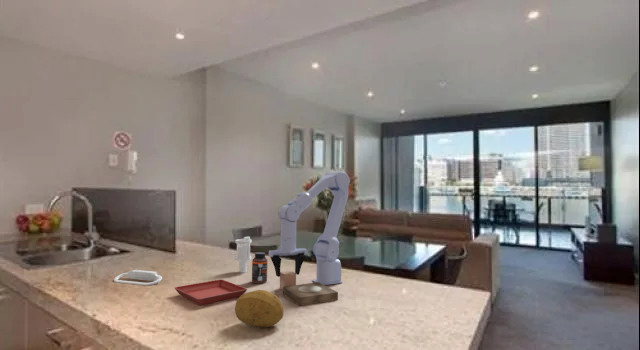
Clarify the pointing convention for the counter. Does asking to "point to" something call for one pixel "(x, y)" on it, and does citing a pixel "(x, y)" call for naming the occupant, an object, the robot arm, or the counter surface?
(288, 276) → the block
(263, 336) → the counter surface
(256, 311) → the potato
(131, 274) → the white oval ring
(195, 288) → the plant saucer
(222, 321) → the counter surface
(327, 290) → the plinth
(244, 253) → the white upright piece
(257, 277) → the supplement bottle
